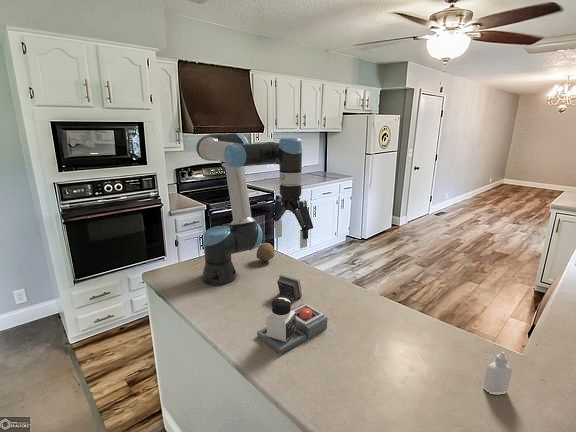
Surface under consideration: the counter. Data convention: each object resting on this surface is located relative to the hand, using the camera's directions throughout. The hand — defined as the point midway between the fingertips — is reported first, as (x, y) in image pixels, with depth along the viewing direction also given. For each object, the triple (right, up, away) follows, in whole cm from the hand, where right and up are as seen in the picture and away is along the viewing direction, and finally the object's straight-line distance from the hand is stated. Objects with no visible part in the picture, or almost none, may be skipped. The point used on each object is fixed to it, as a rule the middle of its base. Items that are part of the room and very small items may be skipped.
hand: (290, 242), depth 118 cm
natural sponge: (-12, -14, +48) cm, 52 cm away
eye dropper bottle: (+54, -37, -32) cm, 73 cm away
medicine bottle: (-3, -29, -11) cm, 31 cm away
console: (+1, -30, -7) cm, 31 cm away
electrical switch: (0, -24, +15) cm, 28 cm away
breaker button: (+5, -26, -4) cm, 27 cm away
